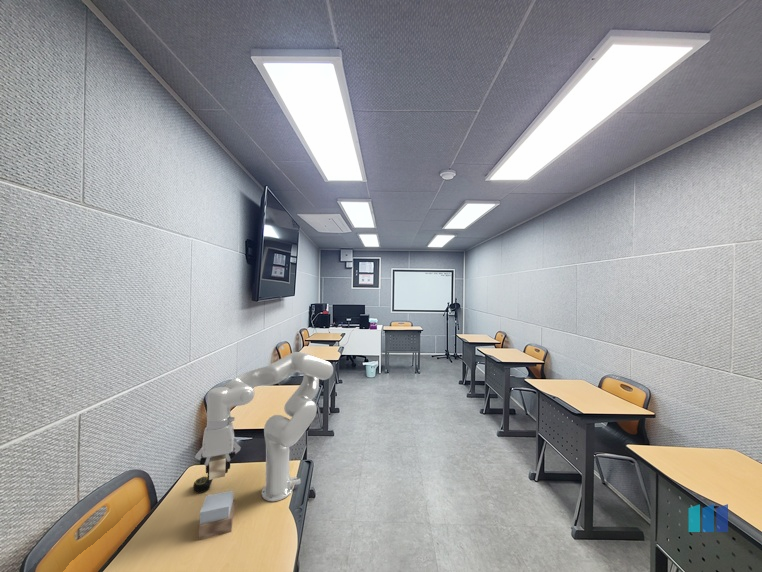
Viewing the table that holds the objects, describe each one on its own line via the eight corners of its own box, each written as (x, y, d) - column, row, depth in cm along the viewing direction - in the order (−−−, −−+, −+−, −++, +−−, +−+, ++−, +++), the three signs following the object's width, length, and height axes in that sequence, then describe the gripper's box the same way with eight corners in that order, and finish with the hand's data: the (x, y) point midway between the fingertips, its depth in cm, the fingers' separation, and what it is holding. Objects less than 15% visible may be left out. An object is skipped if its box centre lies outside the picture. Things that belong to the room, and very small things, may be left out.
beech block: (226, 468, 110) (226, 452, 110) (224, 476, 105) (225, 459, 105) (211, 471, 108) (211, 455, 108) (209, 479, 103) (209, 462, 103)
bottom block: (234, 512, 112) (234, 499, 112) (231, 532, 103) (231, 518, 103) (204, 520, 109) (205, 506, 109) (198, 541, 99) (198, 526, 99)
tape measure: (209, 492, 123) (209, 483, 124) (190, 496, 121) (191, 486, 121) (213, 482, 130) (213, 474, 130) (195, 485, 128) (196, 477, 128)
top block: (233, 500, 112) (233, 490, 112) (228, 517, 103) (228, 506, 103) (206, 506, 109) (206, 495, 109) (199, 524, 100) (199, 512, 100)
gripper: (244, 415, 113) (244, 462, 113) (194, 422, 107) (193, 472, 107) (243, 423, 106) (243, 473, 106) (189, 431, 100) (188, 484, 100)
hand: (218, 472), depth 106 cm, fingers closed on beech block, 5 cm apart
